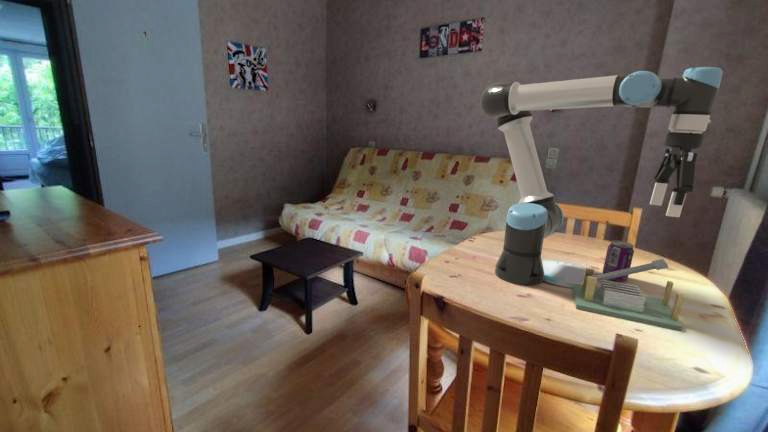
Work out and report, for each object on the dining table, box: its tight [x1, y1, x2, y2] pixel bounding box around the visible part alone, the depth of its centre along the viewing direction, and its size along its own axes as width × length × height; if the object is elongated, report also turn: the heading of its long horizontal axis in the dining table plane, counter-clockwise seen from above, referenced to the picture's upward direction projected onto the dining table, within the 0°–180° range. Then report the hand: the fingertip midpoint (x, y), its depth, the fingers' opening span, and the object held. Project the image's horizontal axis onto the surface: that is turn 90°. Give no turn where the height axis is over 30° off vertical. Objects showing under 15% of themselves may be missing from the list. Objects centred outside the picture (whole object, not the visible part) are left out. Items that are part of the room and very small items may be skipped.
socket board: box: [572, 282, 683, 332], centre depth 96 cm, size 23×15×1 cm, turn 65°
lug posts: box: [582, 267, 684, 320], centre depth 94 cm, size 21×9×7 cm, turn 65°
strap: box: [586, 258, 669, 283], centre depth 94 cm, size 19×4×2 cm, turn 64°
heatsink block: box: [598, 280, 645, 313], centre depth 95 cm, size 9×9×4 cm
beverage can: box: [601, 240, 635, 282], centre depth 112 cm, size 7×7×12 cm
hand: (663, 210), depth 95 cm, fingers open, 13 cm apart
